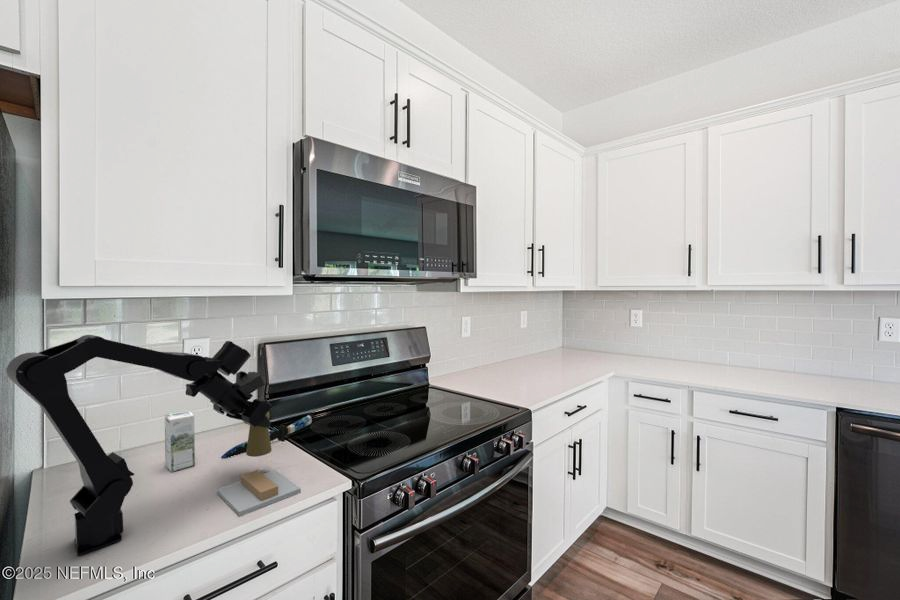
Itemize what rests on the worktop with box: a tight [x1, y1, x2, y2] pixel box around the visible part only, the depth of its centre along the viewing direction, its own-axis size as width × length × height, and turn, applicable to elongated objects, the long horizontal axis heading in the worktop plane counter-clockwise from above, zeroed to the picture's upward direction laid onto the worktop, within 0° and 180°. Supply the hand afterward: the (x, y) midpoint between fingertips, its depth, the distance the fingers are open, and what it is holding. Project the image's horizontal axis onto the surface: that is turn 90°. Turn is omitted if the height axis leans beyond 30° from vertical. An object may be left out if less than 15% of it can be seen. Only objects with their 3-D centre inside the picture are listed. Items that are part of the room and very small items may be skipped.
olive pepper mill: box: [245, 411, 272, 458], centre depth 107 cm, size 6×6×11 cm
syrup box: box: [164, 410, 196, 473], centre depth 111 cm, size 6×6×14 cm
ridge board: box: [216, 469, 302, 517], centre depth 98 cm, size 14×14×3 cm
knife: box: [220, 413, 315, 460], centre depth 128 cm, size 31×3×4 cm, turn 140°
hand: (263, 423), depth 108 cm, fingers closed on olive pepper mill, 5 cm apart
